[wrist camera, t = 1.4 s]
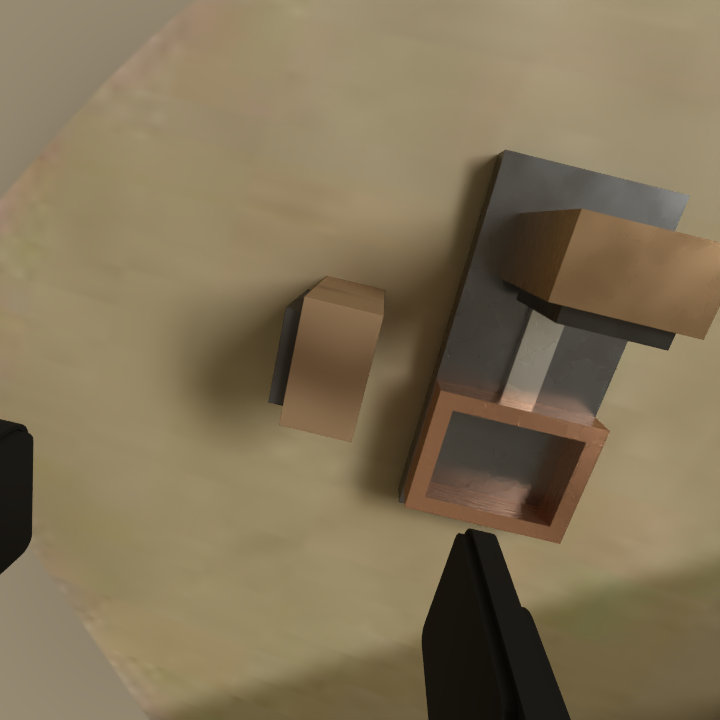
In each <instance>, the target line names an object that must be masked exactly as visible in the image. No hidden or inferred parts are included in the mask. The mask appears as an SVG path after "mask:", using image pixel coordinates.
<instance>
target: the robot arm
mask: <svg viewBox="0 0 720 720" xmlns="http://www.w3.org/2000/svg"><path fill="white" fill-rule="evenodd" d="M32 492H33V437H32V435H31V434H29V433H28V430H27V428H26V426H24V425H22V424H18V423H14V422H10V421H5V420H1V419H0V574H1V573H2V572H4V571H5V570H6V569H7V568H8V567H9V566H10V565H11V564H12V563H13V562H14V561H15V560H16V559H17V558H19V557H20V556H21V555H22V554H23V553H24V552H25V550H26V549H27V547H28V545H29V543H30V541H31V537H32ZM422 652H423V663H424V674H425V686H426V697H427V708H428V719H429V720H571V719H570V716H569V714H568V711H567V708H566V706H565V703H564V700H563V698H562V695H561V692H560V690H559V687H558V684H557V682H556V679H555V676H554V674H553V671H552V668H551V666H550V663H549V660H548V658H547V655H546V652H545V650H544V647H543V644H542V642H541V639H540V636H539V634H538V631H537V628H536V626H535V623H534V620H533V618H532V616H531V614H530V612H529V611H528V610H527V609H526V608H524V607H521V604H520V602H519V599H518V596H517V593H516V590H515V588H514V585H513V582H512V579H511V576H510V573H509V571H508V568H507V565H506V562H505V559H504V557H503V554H502V551H501V548H500V545H499V543H498V540H497V537H496V536H495V535H494V534H491V533H487V532H483V531H478V530H474V529H467V531H466V532H465V534H461V533H458V534H457V535H456V538H455V540H454V543H453V546H452V548H451V551H450V554H449V557H448V560H447V562H446V565H445V568H444V571H443V573H442V576H441V579H440V582H439V585H438V587H437V590H436V593H435V596H434V599H433V601H432V604H431V607H430V610H429V612H428V615H427V618H426V621H425V624H424V627H423V632H422Z"/></svg>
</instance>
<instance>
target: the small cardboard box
mask: <svg viewBox="0 0 720 720" xmlns="http://www.w3.org/2000/svg"><path fill="white" fill-rule="evenodd" d="M384 294H385V290H382V289H378V288H374V287H370V286H366V285H362V284H358V283H353V282H349V281H345V280H341V279H337V278H333V277H329V276H327V277H326V278H325V279H323V280H322V281H321V282H320V283H319V284H318V285H317V286H316V287H315V288H314V289H312V290H309V289H308V290H306V291H305V292H304V293H303V294H302V295H300V296H299V297H298V298H297V299H296V300H295V301H293V302H292V303H291V304H290V305H289V306H287V307H286V311H285V316H284V321H283V327H282V332H281V337H280V343H279V348H278V353H277V359H276V364H275V369H274V375H273V380H272V385H271V391H270V396H269V401H268V402H269V403H273V404H277V405H282V406H283V408H282V413H281V418H280V423H279V425H281V426H285V427H289V428H294V429H298V430H302V431H306V432H310V433H315V434H319V435H323V436H327V437H331V438H336V439H340V440H344V441H348V442H352V439H353V435H354V431H355V427H356V423H357V419H358V415H359V411H360V407H361V403H362V399H363V396H364V392H365V388H366V384H367V380H368V376H369V372H370V368H371V364H372V360H373V356H374V352H375V348H376V344H377V341H378V337H379V333H380V329H381V325H382V321H383V317H384Z"/></svg>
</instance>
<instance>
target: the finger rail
mask: <svg viewBox="0 0 720 720" xmlns="http://www.w3.org/2000/svg"><path fill="white" fill-rule="evenodd" d="M688 199H689V195H685V194H681V193H677V192H673V191H669V190H665V189H661V188H657V187H653V186H649V185H645V184H641V183H637V182H633V181H629V180H625V179H621V178H617V177H613V176H609V175H605V174H601V173H597V172H593V171H589V170H585V169H581V168H577V167H573V166H569V165H565V164H561V163H557V162H553V161H549V160H545V159H541V158H537V157H533V156H529V155H525V154H521V153H517V152H513V151H509V150H504V151H503V152H501V153H499V155H498V158H497V162H496V165H495V168H494V172H493V175H492V178H491V182H490V185H489V188H488V192H487V195H486V198H485V202H484V205H483V208H482V212H481V215H480V218H479V222H478V225H477V228H476V232H475V235H474V238H473V242H472V245H471V248H470V252H469V255H468V258H467V262H466V265H465V268H464V272H463V275H462V278H461V282H460V285H459V288H458V292H457V295H456V298H455V302H454V305H453V308H452V312H451V315H450V319H449V322H448V325H447V329H446V332H445V335H444V339H443V342H442V345H441V349H440V352H439V355H438V359H437V362H436V365H435V369H434V372H433V375H432V379H431V382H430V385H429V389H428V392H427V395H426V399H425V402H424V405H423V409H422V412H421V415H420V419H419V422H418V425H417V429H416V432H415V435H414V439H413V442H412V445H411V449H410V452H409V455H408V459H407V462H406V465H405V469H404V472H403V475H402V479H401V482H400V485H399V489H398V493H399V502H401V503H405V507H407V508H411V509H415V510H420V511H424V512H428V513H432V514H436V515H441V516H445V517H449V518H453V519H458V520H462V521H466V522H470V523H474V524H479V525H483V526H487V527H491V528H496V529H500V530H504V531H508V532H512V533H517V534H521V535H525V536H529V537H534V538H538V539H542V540H546V541H550V542H555V543H559V544H560V543H561V541H562V538H563V536H564V534H565V531H566V529H567V527H568V525H569V522H570V520H571V518H572V516H573V513H574V511H575V509H576V507H577V504H578V502H579V500H580V498H581V495H582V493H583V491H584V489H585V486H586V484H587V482H588V480H589V477H590V475H591V473H592V470H593V468H594V466H595V464H596V461H597V459H598V457H599V455H600V452H601V450H602V448H603V446H604V443H605V441H606V439H607V437H608V434H609V432H610V431H609V430H608V429H607V428H606V427H605V426H604V425H603V424H602V423H601V422H599V421H598V420H597V419H596V418H595V416H596V414H597V412H598V409H599V407H600V405H601V402H602V400H603V398H604V395H605V393H606V391H607V388H608V386H609V384H610V381H611V379H612V377H613V374H614V372H615V370H616V367H617V365H618V363H619V360H620V358H621V356H622V353H623V351H624V349H625V346H626V344H627V342H628V341H631V342H635V343H639V344H643V345H647V346H651V347H656V348H660V349H664V350H669V348H670V345H671V343H672V341H673V339H674V337H675V334H676V333H677V334H682V335H686V336H690V337H694V338H698V339H702V340H704V338H705V336H706V334H707V332H708V330H709V327H710V325H711V323H712V321H713V319H714V317H715V315H716V313H717V311H718V309H719V307H720V243H719V242H715V241H711V240H707V239H703V238H699V237H695V236H691V235H687V234H683V233H679V232H675V229H676V227H677V225H678V222H679V220H680V218H681V215H682V213H683V211H684V208H685V206H686V203H687V201H688Z"/></svg>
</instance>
